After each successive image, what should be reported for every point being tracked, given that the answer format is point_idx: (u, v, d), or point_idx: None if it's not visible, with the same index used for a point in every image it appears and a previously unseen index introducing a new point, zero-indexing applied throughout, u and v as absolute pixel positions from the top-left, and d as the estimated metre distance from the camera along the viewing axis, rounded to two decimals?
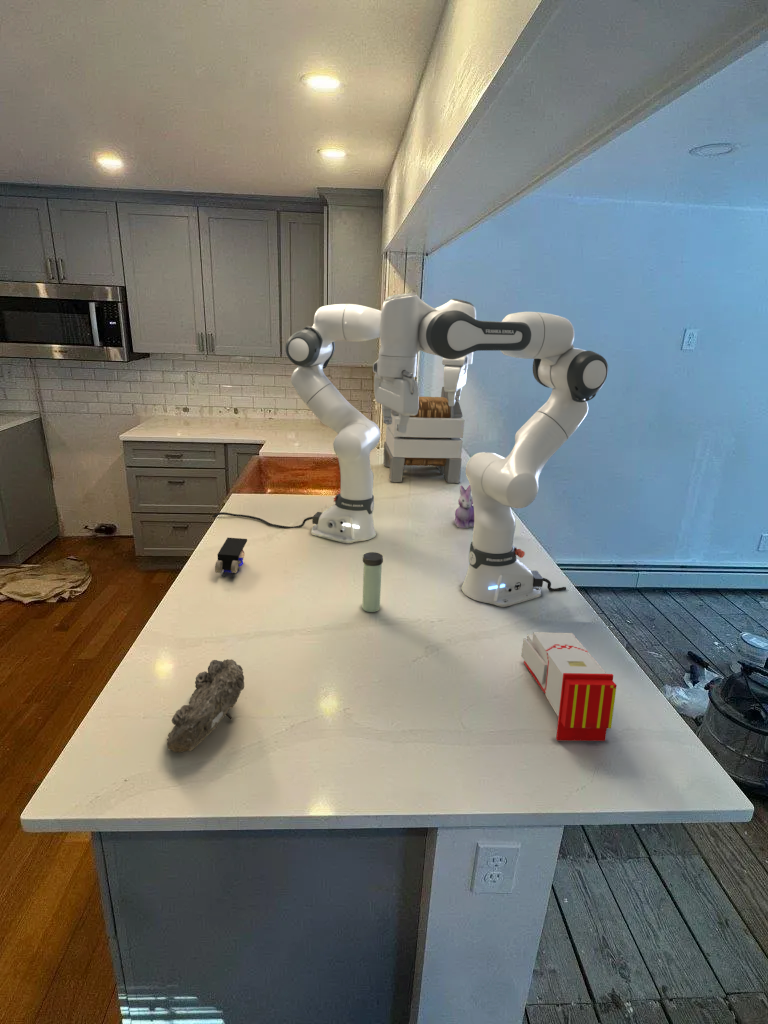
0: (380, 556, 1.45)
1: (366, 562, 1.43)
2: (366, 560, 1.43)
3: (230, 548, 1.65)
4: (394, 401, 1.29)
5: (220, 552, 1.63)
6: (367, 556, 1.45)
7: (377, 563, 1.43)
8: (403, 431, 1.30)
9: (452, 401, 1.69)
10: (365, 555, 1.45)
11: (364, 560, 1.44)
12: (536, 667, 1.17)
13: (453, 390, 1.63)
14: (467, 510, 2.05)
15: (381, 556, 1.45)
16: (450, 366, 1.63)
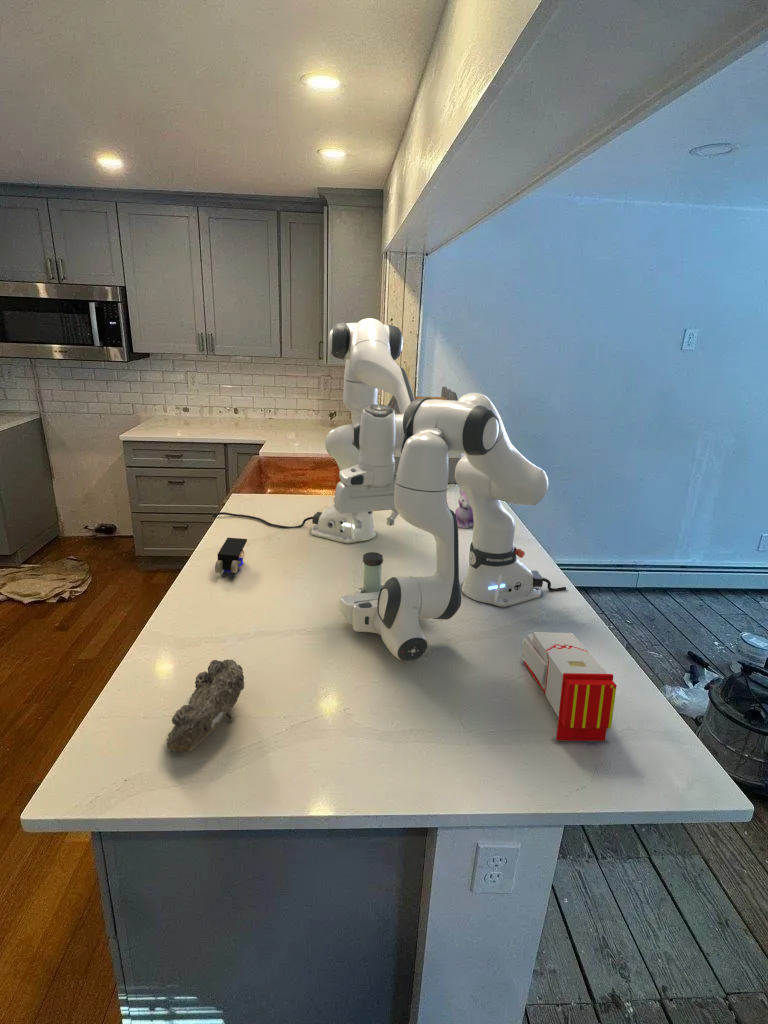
0: (380, 556, 1.45)
1: (366, 562, 1.43)
2: (366, 560, 1.43)
3: (230, 548, 1.65)
4: None
5: (220, 552, 1.63)
6: (367, 556, 1.45)
7: (377, 563, 1.43)
8: None
9: (355, 523, 1.40)
10: (365, 555, 1.45)
11: (364, 560, 1.44)
12: (536, 667, 1.17)
13: (337, 511, 1.36)
14: (467, 510, 2.05)
15: (381, 556, 1.45)
16: (342, 482, 1.36)
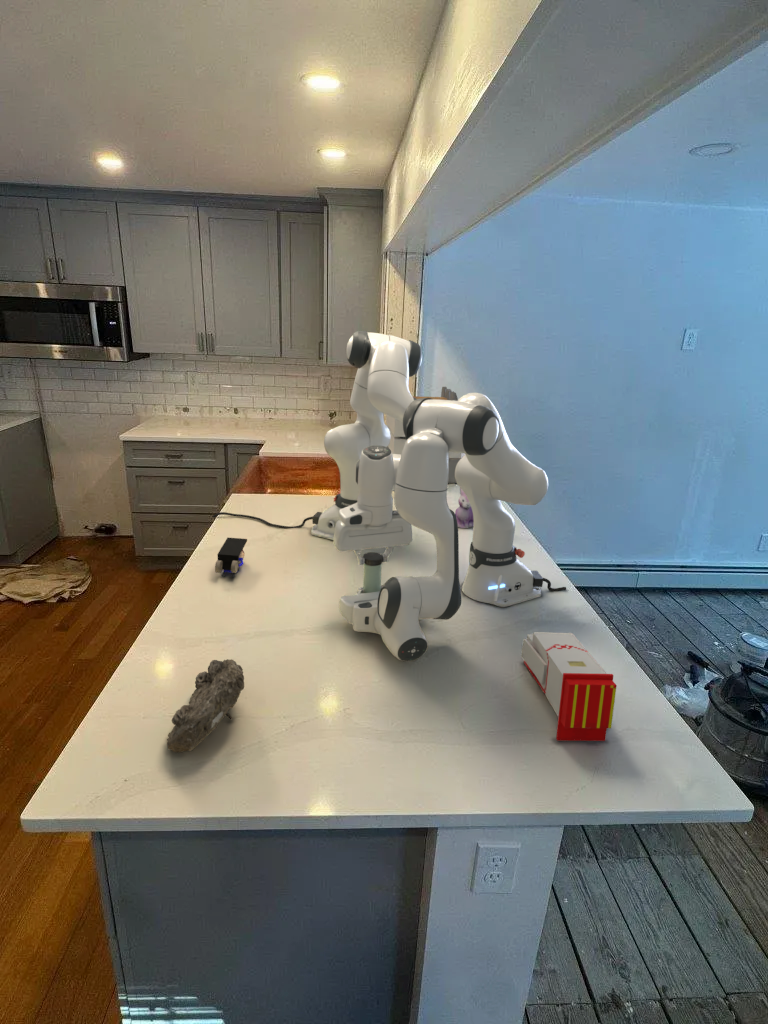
0: (380, 556, 1.45)
1: (366, 562, 1.43)
2: (366, 560, 1.43)
3: (230, 548, 1.65)
4: None
5: (220, 552, 1.63)
6: (367, 556, 1.45)
7: (377, 563, 1.43)
8: None
9: (358, 559, 1.43)
10: (365, 555, 1.45)
11: None
12: (536, 667, 1.17)
13: (337, 549, 1.40)
14: (467, 510, 2.05)
15: (381, 556, 1.45)
16: (341, 521, 1.39)
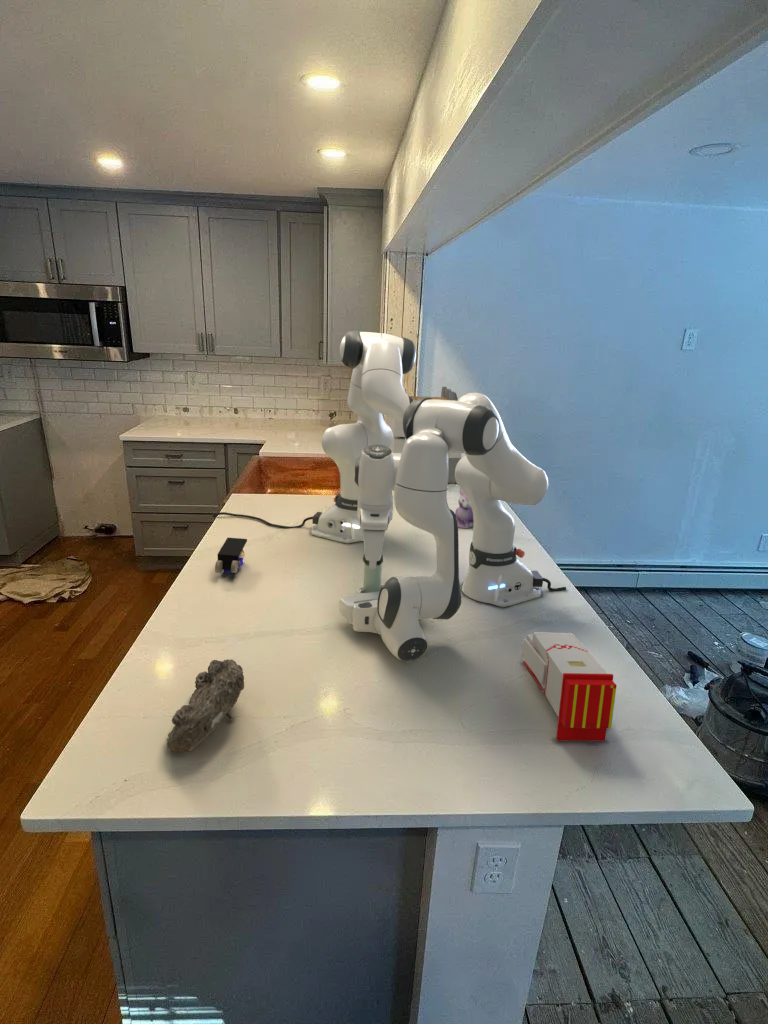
0: None
1: (377, 562, 1.43)
2: None
3: (230, 548, 1.65)
4: None
5: (220, 552, 1.63)
6: None
7: None
8: None
9: (374, 563, 1.41)
10: None
11: None
12: (536, 667, 1.17)
13: (377, 559, 1.34)
14: (467, 510, 2.05)
15: None
16: (371, 531, 1.34)
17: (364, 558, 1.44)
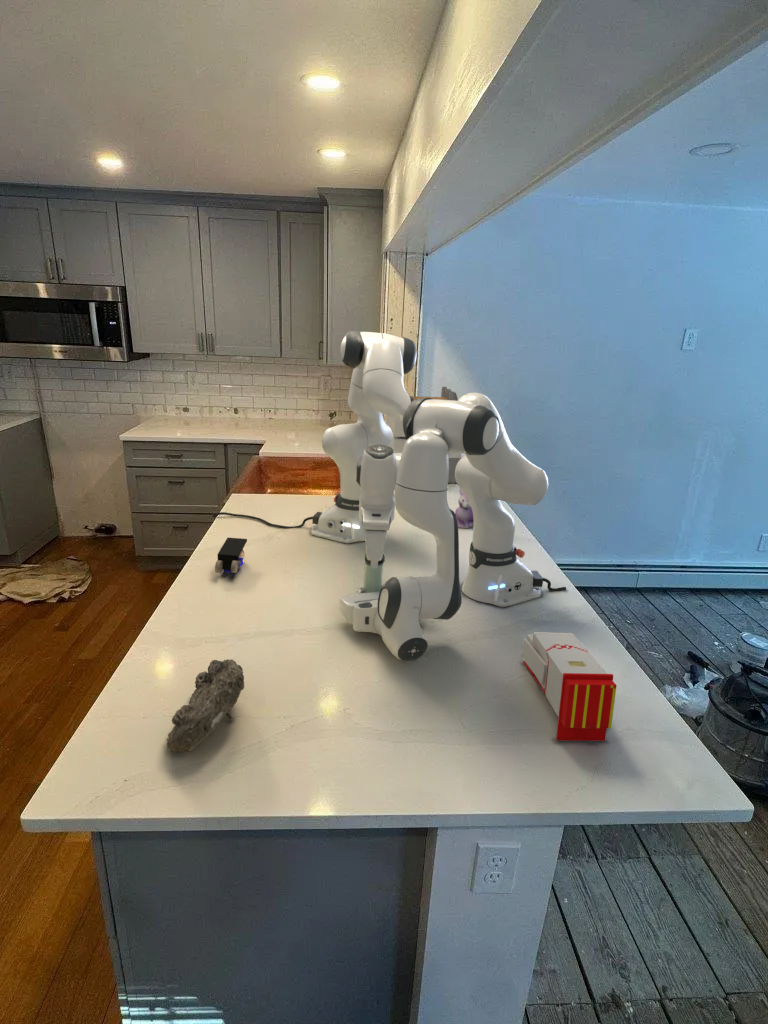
0: None
1: None
2: (384, 556, 1.45)
3: (230, 548, 1.65)
4: None
5: (220, 552, 1.63)
6: None
7: None
8: None
9: (375, 563, 1.41)
10: None
11: (384, 558, 1.45)
12: (536, 667, 1.17)
13: (378, 559, 1.35)
14: (467, 510, 2.05)
15: None
16: (372, 531, 1.34)
17: None
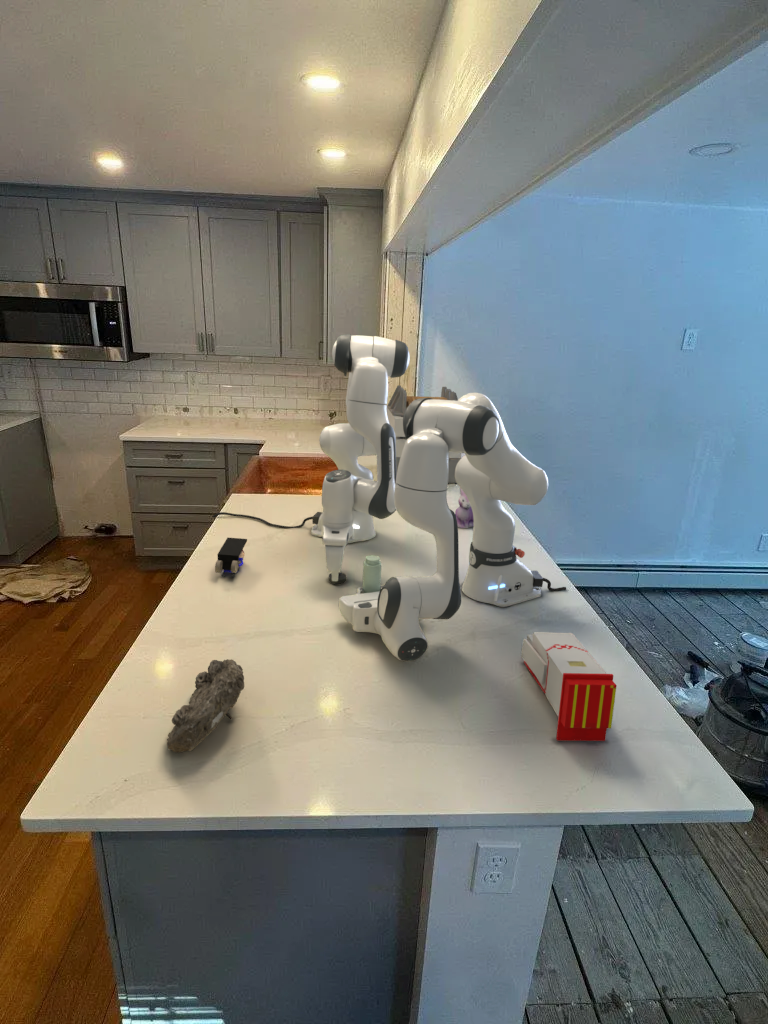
0: None
1: (346, 578, 1.64)
2: (345, 576, 1.64)
3: (230, 548, 1.65)
4: None
5: (220, 552, 1.63)
6: (341, 576, 1.63)
7: None
8: None
9: (336, 576, 1.58)
10: (341, 578, 1.62)
11: (345, 578, 1.63)
12: (536, 667, 1.17)
13: (337, 571, 1.52)
14: (467, 510, 2.05)
15: None
16: (332, 546, 1.51)
17: (338, 580, 1.61)
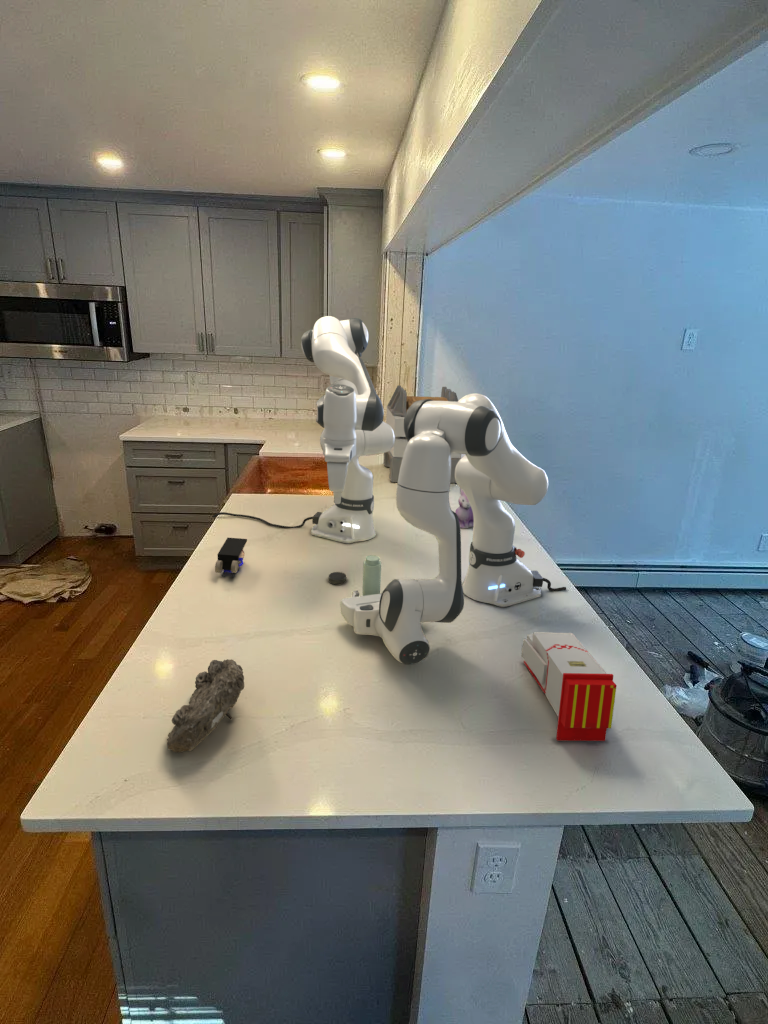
0: (332, 573, 1.65)
1: (346, 578, 1.64)
2: (345, 576, 1.64)
3: (230, 548, 1.65)
4: None
5: (220, 552, 1.63)
6: (341, 576, 1.63)
7: None
8: None
9: (338, 498, 1.50)
10: (341, 578, 1.62)
11: (345, 578, 1.63)
12: (536, 667, 1.17)
13: (340, 490, 1.44)
14: (467, 510, 2.05)
15: (332, 573, 1.65)
16: (334, 463, 1.43)
17: (338, 580, 1.61)
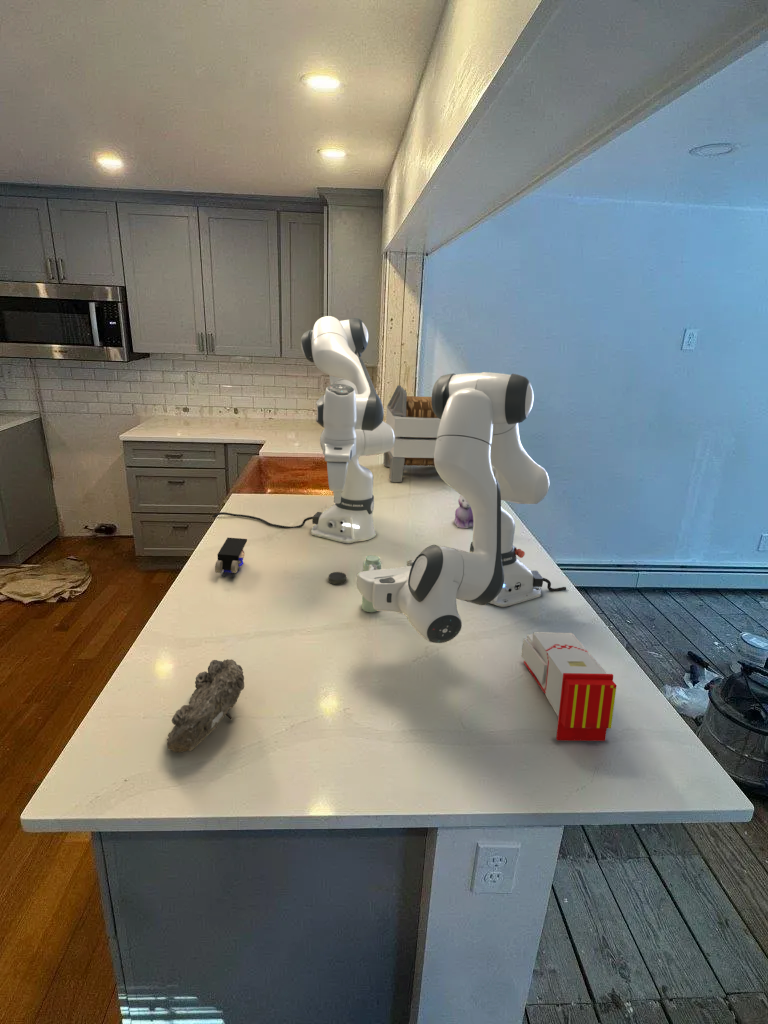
0: (332, 573, 1.65)
1: (346, 578, 1.64)
2: (345, 576, 1.64)
3: (230, 548, 1.65)
4: None
5: (220, 552, 1.63)
6: (341, 576, 1.63)
7: None
8: None
9: (338, 498, 1.50)
10: (341, 578, 1.62)
11: (345, 578, 1.63)
12: (536, 667, 1.17)
13: (340, 489, 1.44)
14: (467, 510, 2.05)
15: (332, 573, 1.65)
16: (334, 463, 1.43)
17: (338, 580, 1.61)
